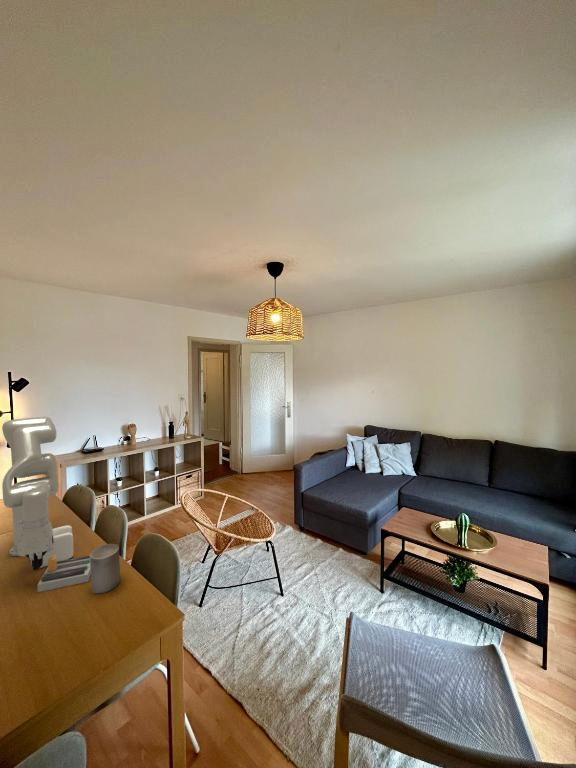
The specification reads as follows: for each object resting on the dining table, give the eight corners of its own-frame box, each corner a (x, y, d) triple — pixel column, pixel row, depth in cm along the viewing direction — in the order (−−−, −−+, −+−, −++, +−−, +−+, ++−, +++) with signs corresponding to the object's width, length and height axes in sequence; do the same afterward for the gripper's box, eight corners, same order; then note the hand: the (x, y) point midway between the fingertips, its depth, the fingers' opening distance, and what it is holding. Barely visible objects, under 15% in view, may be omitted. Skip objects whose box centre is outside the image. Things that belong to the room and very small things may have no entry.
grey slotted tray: (49, 572, 124) (49, 561, 124) (94, 563, 130) (94, 552, 130) (37, 592, 113) (37, 580, 113) (88, 581, 119) (87, 570, 119)
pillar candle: (116, 572, 124) (114, 537, 124) (123, 585, 117) (122, 547, 117) (88, 584, 118) (86, 547, 117) (94, 598, 111) (92, 558, 110)
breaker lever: (49, 570, 120) (49, 556, 120) (58, 569, 122) (58, 555, 121) (46, 575, 118) (46, 561, 118) (56, 573, 119) (55, 559, 119)
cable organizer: (28, 572, 124) (27, 544, 124) (30, 559, 133) (29, 533, 132) (73, 558, 133) (73, 533, 133) (72, 547, 142) (72, 523, 141)
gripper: (6, 530, 111) (8, 578, 112) (56, 522, 116) (57, 569, 117) (16, 520, 118) (17, 566, 119) (62, 514, 123) (63, 558, 124)
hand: (37, 567), depth 118 cm, fingers closed
